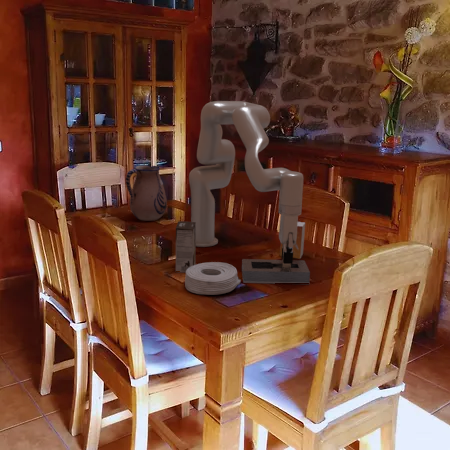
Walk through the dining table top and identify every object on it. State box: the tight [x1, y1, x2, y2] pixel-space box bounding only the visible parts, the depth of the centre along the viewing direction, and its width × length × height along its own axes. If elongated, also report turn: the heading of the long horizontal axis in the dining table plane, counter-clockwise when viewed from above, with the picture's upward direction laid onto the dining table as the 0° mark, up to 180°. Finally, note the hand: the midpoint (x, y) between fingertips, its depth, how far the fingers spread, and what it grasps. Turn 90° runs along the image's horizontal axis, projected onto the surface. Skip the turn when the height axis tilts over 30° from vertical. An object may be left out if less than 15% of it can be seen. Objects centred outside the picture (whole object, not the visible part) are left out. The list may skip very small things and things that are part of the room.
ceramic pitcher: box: [125, 164, 168, 222], centre depth 248 cm, size 18×21×25 cm
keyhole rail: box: [241, 258, 311, 284], centre depth 181 cm, size 22×12×4 cm, turn 91°
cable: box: [184, 261, 242, 296], centre depth 171 cm, size 18×18×6 cm
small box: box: [279, 221, 306, 260], centre depth 203 cm, size 8×6×13 cm
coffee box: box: [175, 220, 196, 273], centre depth 186 cm, size 9×6×16 cm
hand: (286, 260), depth 180 cm, fingers open, 3 cm apart
